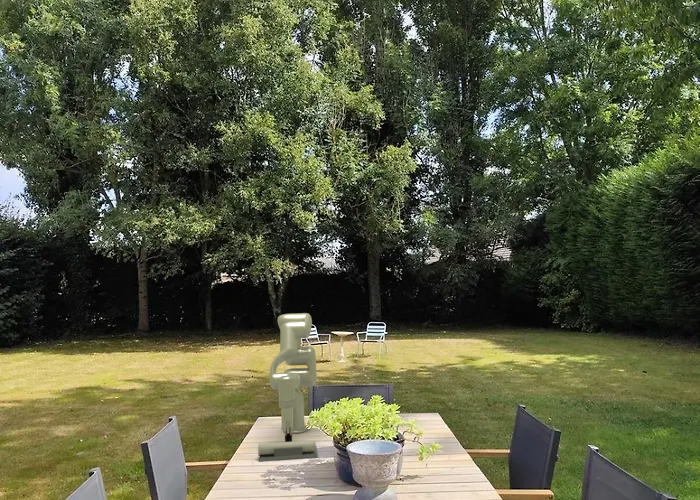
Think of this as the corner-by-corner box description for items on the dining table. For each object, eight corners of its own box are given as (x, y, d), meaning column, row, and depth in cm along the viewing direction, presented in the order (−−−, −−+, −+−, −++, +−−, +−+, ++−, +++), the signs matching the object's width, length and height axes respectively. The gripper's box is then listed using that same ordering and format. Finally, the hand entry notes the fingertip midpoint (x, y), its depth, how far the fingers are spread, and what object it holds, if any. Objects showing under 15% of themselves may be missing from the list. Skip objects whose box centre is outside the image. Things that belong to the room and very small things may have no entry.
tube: (315, 440, 251) (259, 443, 249) (315, 439, 246) (258, 442, 244) (316, 452, 249) (259, 456, 247) (316, 452, 244) (258, 455, 242)
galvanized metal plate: (260, 453, 253) (260, 443, 254) (316, 449, 256) (316, 439, 256) (259, 461, 241) (258, 450, 242) (317, 457, 244) (317, 446, 244)
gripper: (279, 400, 264) (280, 440, 263) (278, 407, 249) (280, 449, 248) (295, 399, 265) (296, 439, 264) (295, 406, 250) (297, 448, 249)
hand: (288, 444), depth 256 cm, fingers closed
